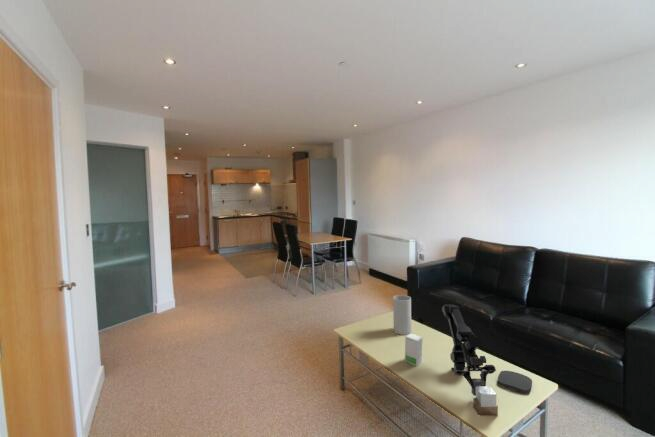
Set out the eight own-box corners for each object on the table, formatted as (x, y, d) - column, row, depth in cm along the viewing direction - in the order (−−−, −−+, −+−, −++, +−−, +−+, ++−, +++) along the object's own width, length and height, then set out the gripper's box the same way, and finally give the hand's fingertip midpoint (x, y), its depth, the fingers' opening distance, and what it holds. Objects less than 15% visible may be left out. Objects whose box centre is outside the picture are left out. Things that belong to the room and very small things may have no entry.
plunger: (471, 392, 153) (471, 378, 153) (482, 392, 153) (482, 378, 153) (478, 403, 145) (478, 388, 145) (489, 403, 145) (489, 388, 145)
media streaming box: (501, 373, 175) (501, 367, 174) (533, 382, 166) (533, 376, 165) (496, 385, 163) (496, 380, 163) (529, 396, 154) (529, 390, 154)
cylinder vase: (390, 331, 230) (389, 297, 228) (400, 326, 239) (399, 293, 237) (404, 336, 221) (404, 301, 219) (414, 331, 229) (414, 297, 227)
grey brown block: (473, 407, 147) (473, 385, 146) (491, 407, 147) (492, 386, 146) (478, 416, 141) (478, 394, 140) (498, 416, 141) (498, 394, 140)
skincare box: (404, 361, 189) (404, 336, 187) (410, 357, 193) (409, 332, 192) (417, 366, 183) (417, 340, 182) (422, 361, 188) (422, 336, 187)
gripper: (455, 349, 155) (463, 384, 145) (494, 349, 154) (505, 384, 144) (449, 356, 163) (457, 390, 153) (487, 356, 162) (497, 390, 152)
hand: (479, 388), depth 150 cm, fingers closed on plunger, 5 cm apart
